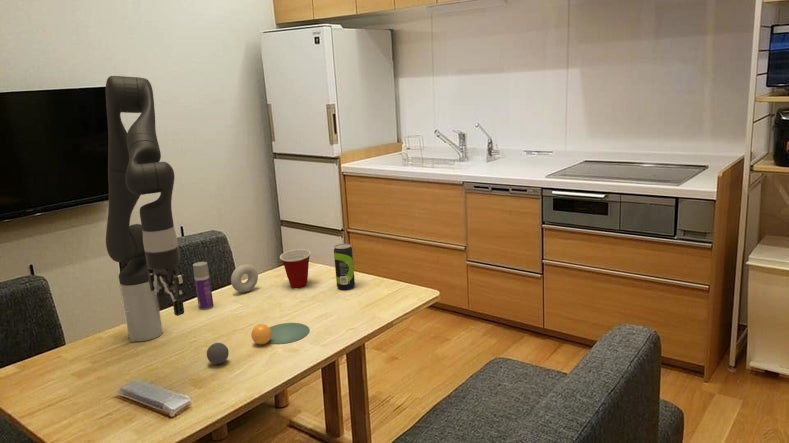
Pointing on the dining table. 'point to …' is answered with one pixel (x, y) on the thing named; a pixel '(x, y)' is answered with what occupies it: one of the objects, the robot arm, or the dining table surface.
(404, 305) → the dining table surface
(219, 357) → the dark grey ball
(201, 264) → the container
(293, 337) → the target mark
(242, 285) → the donut
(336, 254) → the beverage can
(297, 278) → the plastic cup
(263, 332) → the orange ball
